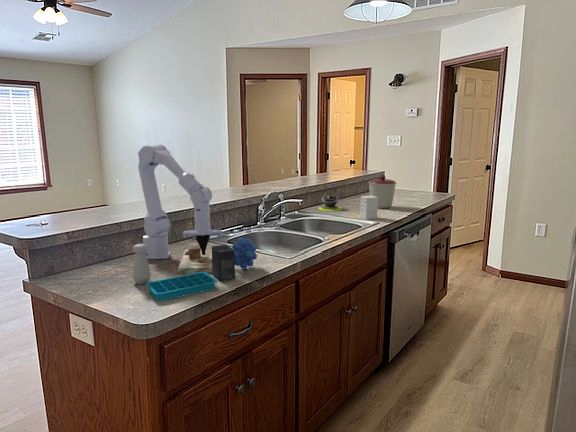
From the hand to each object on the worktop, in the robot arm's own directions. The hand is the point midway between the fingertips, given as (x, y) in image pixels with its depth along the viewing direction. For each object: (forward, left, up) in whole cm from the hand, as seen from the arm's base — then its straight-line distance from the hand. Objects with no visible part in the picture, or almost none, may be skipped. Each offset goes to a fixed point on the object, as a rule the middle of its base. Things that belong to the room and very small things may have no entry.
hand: (203, 254), depth 163 cm
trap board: (-2, -1, -3) cm, 4 cm away
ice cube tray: (-5, -28, -4) cm, 29 cm away
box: (+8, -18, -3) cm, 20 cm away
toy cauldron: (+73, +103, -3) cm, 126 cm away
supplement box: (+89, +71, -3) cm, 114 cm away
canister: (+108, +103, -3) cm, 149 cm away
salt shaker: (-19, -20, -3) cm, 28 cm away
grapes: (+16, -11, -3) cm, 19 cm away
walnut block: (-3, 0, -1) cm, 3 cm away
